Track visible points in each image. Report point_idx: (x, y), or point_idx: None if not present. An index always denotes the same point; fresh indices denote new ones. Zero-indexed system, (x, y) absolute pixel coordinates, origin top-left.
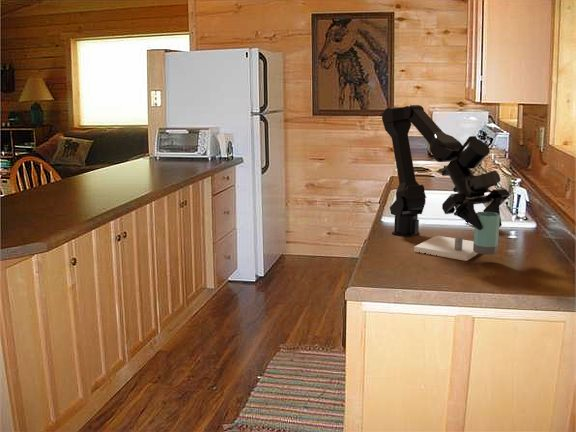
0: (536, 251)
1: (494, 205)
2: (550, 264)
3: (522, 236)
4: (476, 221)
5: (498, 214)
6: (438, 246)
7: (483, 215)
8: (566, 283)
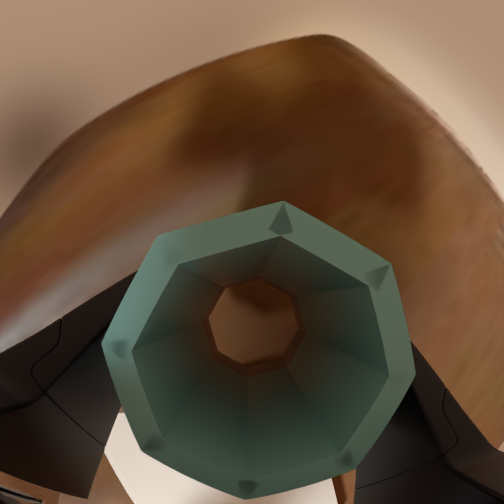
0: (19, 267)
1: (25, 411)
2: (107, 156)
3: None
4: (416, 358)
5: (166, 256)
6: (279, 501)
7: (388, 345)
8: (249, 55)
